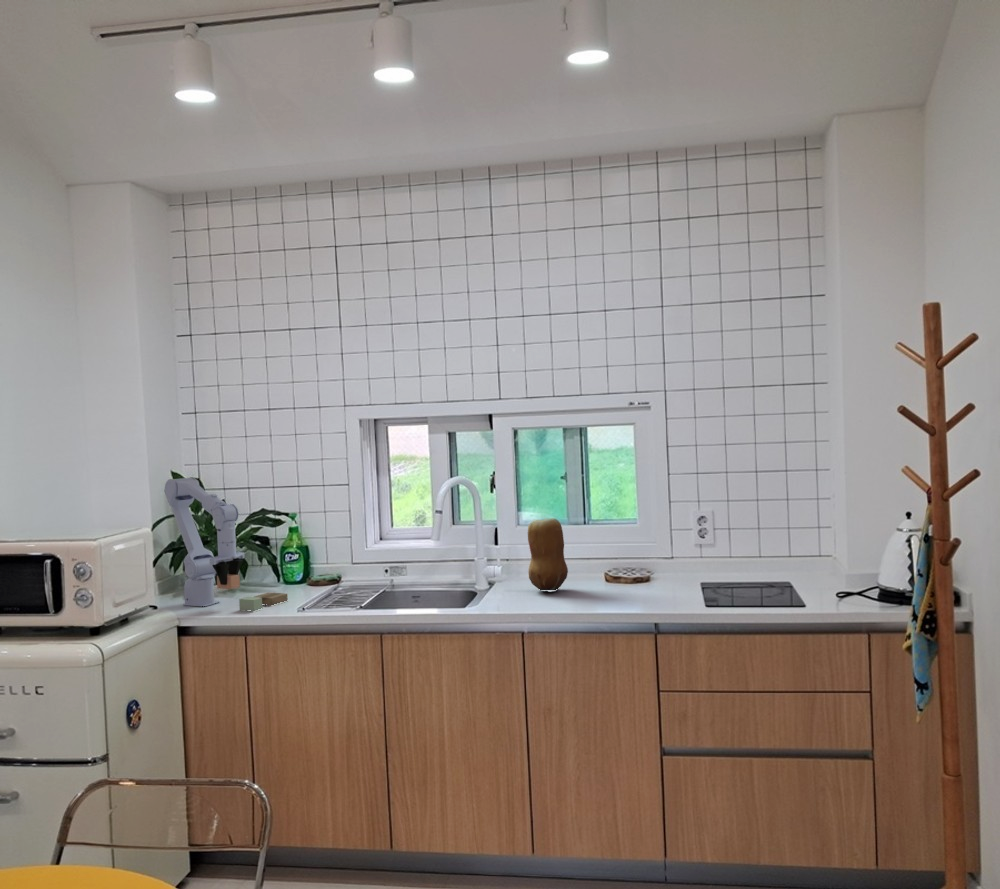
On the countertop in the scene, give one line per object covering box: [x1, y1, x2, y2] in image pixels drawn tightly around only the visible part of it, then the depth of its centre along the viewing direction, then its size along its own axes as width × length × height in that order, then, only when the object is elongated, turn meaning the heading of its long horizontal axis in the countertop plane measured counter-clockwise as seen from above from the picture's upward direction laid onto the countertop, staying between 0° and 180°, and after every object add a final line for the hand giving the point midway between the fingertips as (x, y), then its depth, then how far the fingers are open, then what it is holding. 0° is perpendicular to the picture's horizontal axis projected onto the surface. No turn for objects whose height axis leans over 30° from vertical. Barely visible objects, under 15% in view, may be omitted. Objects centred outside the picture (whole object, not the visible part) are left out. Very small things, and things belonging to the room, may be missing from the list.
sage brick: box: [238, 596, 263, 611], centre depth 310 cm, size 6×4×4 cm, turn 64°
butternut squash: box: [527, 518, 569, 591], centre depth 322 cm, size 14×13×25 cm
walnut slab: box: [253, 591, 288, 606], centre depth 321 cm, size 8×8×3 cm
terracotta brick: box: [216, 573, 241, 590], centre depth 313 cm, size 6×4×4 cm, turn 64°
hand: (228, 583), depth 313 cm, fingers closed on terracotta brick, 4 cm apart
